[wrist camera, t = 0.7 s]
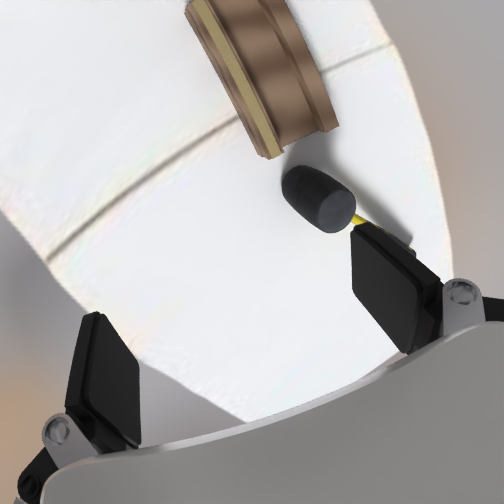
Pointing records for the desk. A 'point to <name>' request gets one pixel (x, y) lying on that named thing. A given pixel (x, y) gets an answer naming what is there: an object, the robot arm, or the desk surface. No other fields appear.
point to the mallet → (324, 201)
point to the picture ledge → (264, 70)
